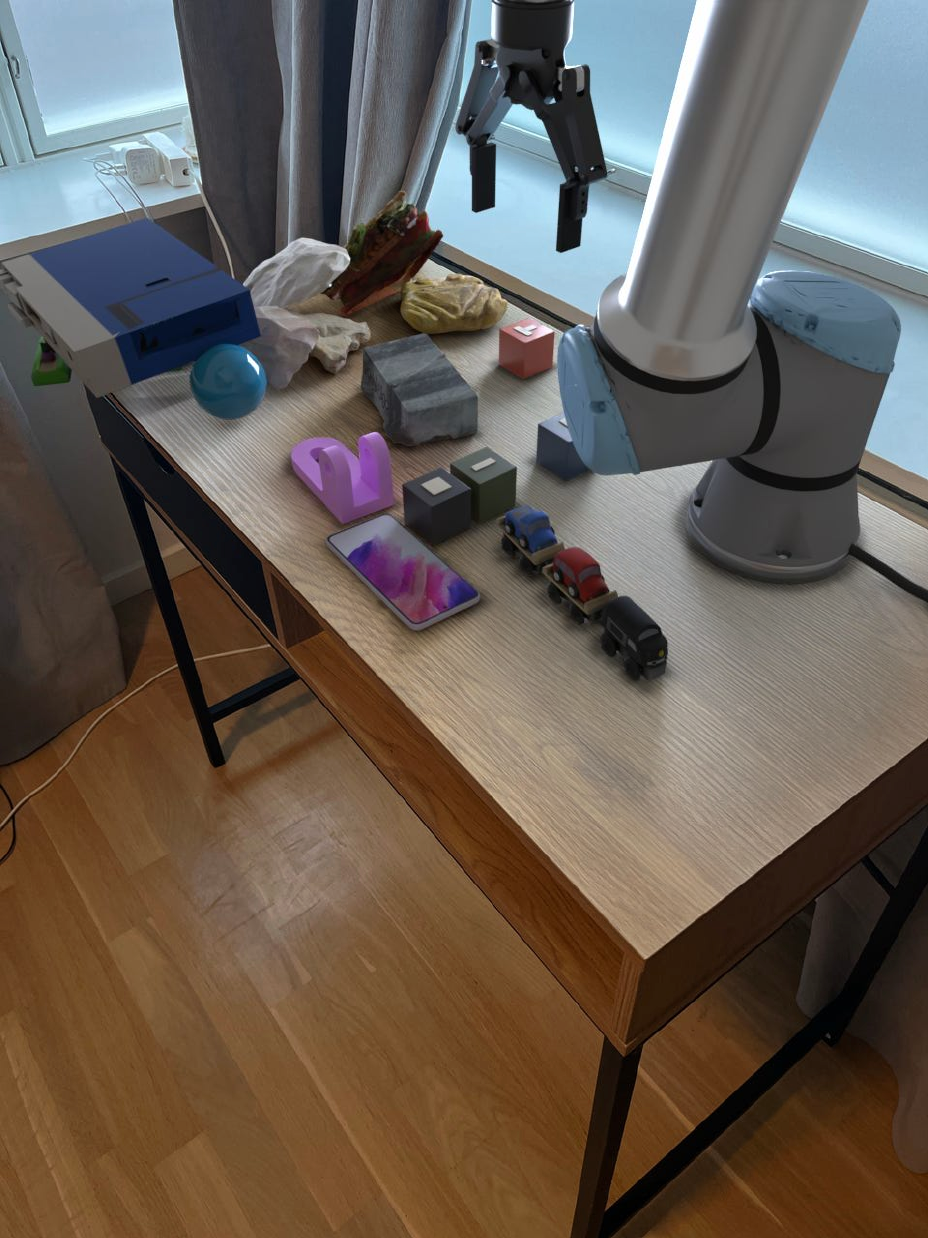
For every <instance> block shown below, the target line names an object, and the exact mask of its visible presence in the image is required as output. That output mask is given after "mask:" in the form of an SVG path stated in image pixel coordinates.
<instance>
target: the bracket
mask: <svg viewBox="0 0 928 1238" xmlns="http://www.w3.org/2000/svg"><path fill="white" fill-rule="evenodd" d="M357 446H358V455H359V458H358V457H357V456H356V455H355V454H354V453H353V452H352V451H351V450H350V449H349V448H348V447H347V446H346V445H345V444H344V443H343V442H341V441H340V440H337V439H336V438H332V437H324V436H322V437H320V436H319V437H318V436H317V437H312V438H307V439H304V440H302V441H300V442H298V443H297V444H296V445H294V446H293V448H292V449H291V451H290V459H291V465H292V470H293V471H294V473H295V474H296V475H297V476H298V477H299V479H300V480H302V482H303V483H304V484H305V485H306V486H307V487H308V489H310V490H311V492H312V493H313V494H314V495H315V496H316V497H317V498H318V499H319V501H320V502H321V503H322V504H323V505H324V506H325V507H326V508H327V510H328V511H330V513H332V515H333V516H334V517H335V518H336V519H337V520H338V521H339V522H340V524H341V525H345V524H347V523H350V522H352V521H356V520H359V519H361V518H363V517H365V516H368V515H371V514H374V513H376V512H378V511H381V510H384V509H387V508H390V507H393V506H394V503H395V502H394V487H393V475H392V472H393V471H392V459H391V454H390V450H389V448H388V447H389V446H388V445H387V443H386V441H385V439H384V438H383V436H382V435H381V434H380V433H379V432H377V431H373V432H370V433H367V434H365V435H362V436H360V437H359V438H358V442H357ZM317 460H318V461H317Z"/></svg>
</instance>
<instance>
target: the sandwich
mask: <svg viewBox="0 0 928 1238" xmlns="http://www.w3.org/2000/svg"><path fill="white" fill-rule="evenodd" d="M407 201H408V194H407V192H406V191H405V190H399V191H398V192H397V193H396V194H395V196H393V198H392V199H390V201H388V202H387V203H386V204H385V206H384V207H383V208H382V210H380V211H378V212H377V214H376V215H375V217H373V218H371V219H370V220H368V221H367V223H366V224H365V223H364V222H360V223H358V224H355V225H353V229H351V234H350V236H349V237H348V239H347V243H346V244H345V245H343V246H342V248H345V249H346V250H347V252H348V255H349V257H350V262H349V265H348V266H347V268H346V269H345V270H344V271H343V272H342V273H341V274H340V275H339V276H338V277H337V278H336V279H334V280H333V281H332V282H331V283H330V284H331V286H330V287H329V286H328V287H327V288H326V290H325V291H323V292H322V293H320V294H319V295H323V296H326V297H327V298H328V299H330V300H331V301H338V300H339V301H340V302H341V304H342V307H340V308H341V309H340V314H341V316H343V317H347V316H349V315H352V314H353V313H356V312H359V310H362V309H364V308H366V307H368V306H370V305H373V304H374V303H378V302H379V301H380V300H382V299H385V298H387V297H388V296H390V295H393V294H396V293H397V292H399V291H401V289H402V287H403V285H404V284H405V283H406V282H409V281H410V280H411V279H412V280H413V278H414V277H415V276H416V275H417V274H418V273H419V272H420V270H421V269H422V268H423V266H424V265H425V264H426V263H427V262H428V260H429V258H430V257H431V256H432V254H433V252H434V251H436V248H437V247H438V246H439V244H440V243H441V240H442V238H443V237H444V233H443V231H442V230H440V229H439V228H437V230H433V229H431V226H430V219H429V214H428V212H427V211H426V210H425V209H422V210H421V212H420V213H419V212H418V209H417V208H418V207H417V206H415V205H414V204H413V203H407ZM406 203H407V204H406Z"/></svg>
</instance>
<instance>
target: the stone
mask: <svg viewBox="0 0 928 1238" xmlns="http://www.w3.org/2000/svg"><path fill="white" fill-rule="evenodd" d="M286 310H287V311H288V312H289V313H291V314H293V315H295V316H297V317H299V318H303V319H306V320H307V321H308V323H309V324H310V325H312V326H314V327H315V328H316V329H318V331H319V339H318V342H317V343H316V344H315V345H314V348H313V350H312V351H311V352H310V353H309V355H308V357H315V358H316V359H318V360H319V361H320V363H321V364H322V366H323V367H324V370H325V371H328V372H329V373H331V374H333V375H334V374H337V373H339V371H340V370H341V369H342V368H343V367H344V366H345V365H346V363H347V357H348V353H349V352H353V351H358V349H359V348H360V347H361V345H360V344H364V343H366V342H370V340H371V330H370V328H369V326H368V324H367V322H366V321H362V322H356V321H353V320H352V319H350V318H344V317H341V316H337V315H334V314H326V313H323V312H313V313H308V314H303V313H299V312H298V311H295V310H294V309H291V308H286Z"/></svg>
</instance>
